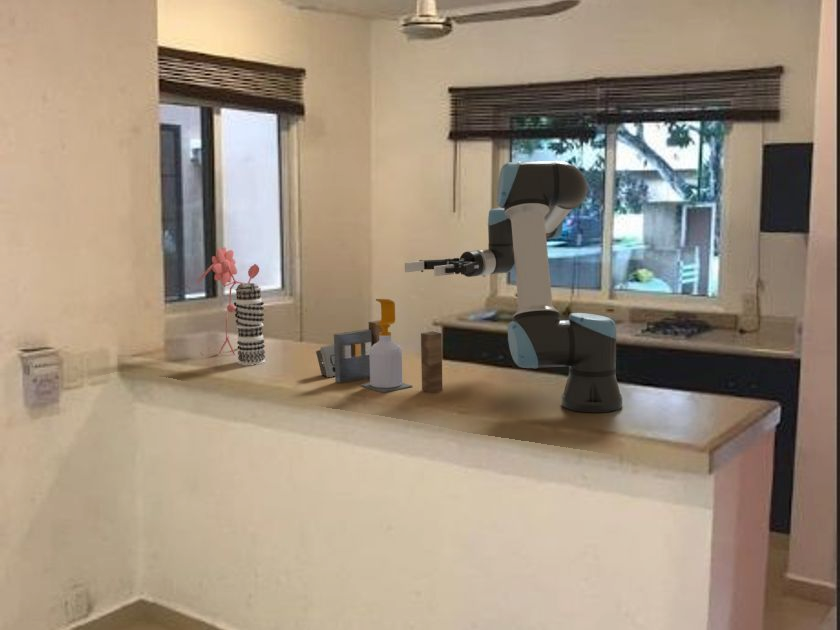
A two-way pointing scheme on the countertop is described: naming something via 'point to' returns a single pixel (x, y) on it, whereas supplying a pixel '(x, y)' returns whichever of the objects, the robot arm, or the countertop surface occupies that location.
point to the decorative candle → (249, 324)
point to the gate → (423, 357)
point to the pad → (386, 388)
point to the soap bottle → (386, 352)
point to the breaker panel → (352, 355)
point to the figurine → (227, 277)
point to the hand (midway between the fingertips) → (419, 269)
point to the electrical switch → (326, 360)
